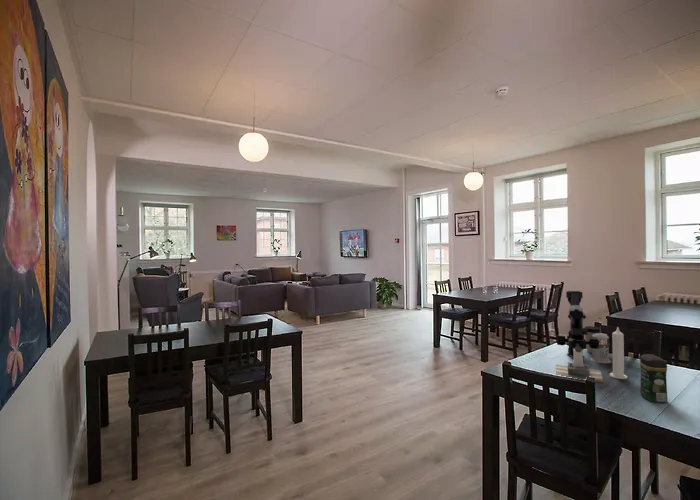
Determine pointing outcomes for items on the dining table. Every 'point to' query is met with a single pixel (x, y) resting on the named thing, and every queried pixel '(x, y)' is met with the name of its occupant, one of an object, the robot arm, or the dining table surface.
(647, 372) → the coffee jar
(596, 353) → the french press
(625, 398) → the dining table surface
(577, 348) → the lever
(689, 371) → the dining table surface
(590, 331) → the coffee cup
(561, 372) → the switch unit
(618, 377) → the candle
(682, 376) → the dining table surface
